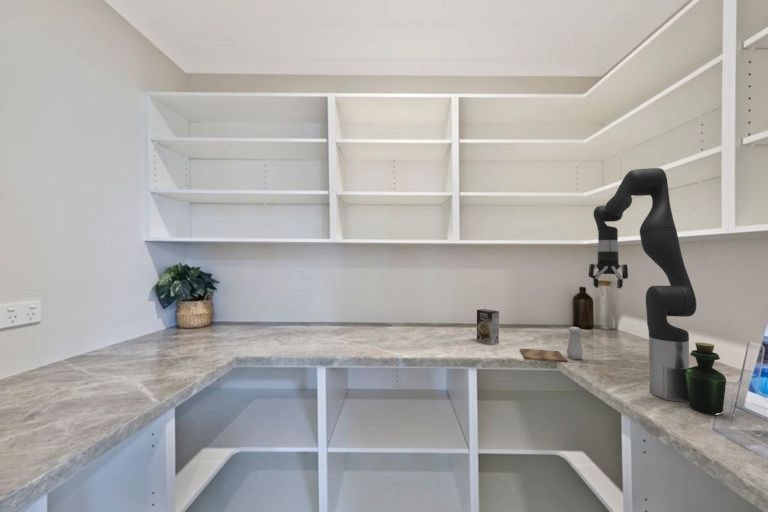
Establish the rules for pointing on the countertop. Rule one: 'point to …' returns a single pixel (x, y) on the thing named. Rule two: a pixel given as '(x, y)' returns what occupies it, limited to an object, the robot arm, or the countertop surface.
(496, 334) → the coffee box
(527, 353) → the walnut board
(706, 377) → the potion bottle
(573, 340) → the salt shaker
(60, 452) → the countertop surface
